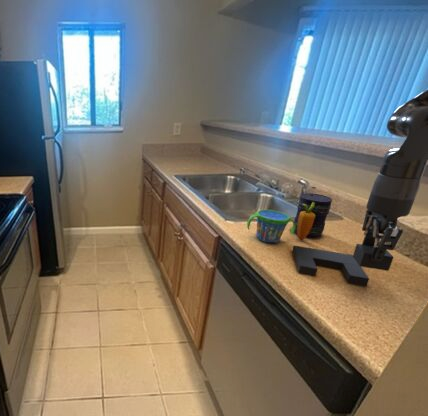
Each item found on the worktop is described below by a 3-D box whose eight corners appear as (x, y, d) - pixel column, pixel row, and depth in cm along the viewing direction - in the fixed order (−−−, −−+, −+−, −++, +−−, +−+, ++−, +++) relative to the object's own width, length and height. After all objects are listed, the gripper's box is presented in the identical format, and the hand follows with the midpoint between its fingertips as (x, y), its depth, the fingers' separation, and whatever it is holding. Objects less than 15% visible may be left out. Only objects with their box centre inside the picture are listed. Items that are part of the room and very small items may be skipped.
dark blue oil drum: (327, 239, 103) (341, 194, 96) (298, 237, 105) (310, 193, 98) (313, 228, 112) (325, 186, 106) (287, 227, 114) (297, 185, 107)
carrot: (294, 242, 101) (304, 204, 96) (290, 236, 106) (300, 200, 100) (310, 244, 100) (321, 205, 95) (305, 238, 104) (316, 201, 99)
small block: (379, 260, 73) (384, 247, 72) (388, 271, 69) (393, 257, 67) (352, 256, 76) (356, 243, 74) (359, 266, 71) (364, 252, 70)
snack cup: (288, 236, 106) (295, 212, 102) (294, 249, 97) (301, 223, 93) (244, 230, 112) (248, 207, 108) (245, 241, 102) (250, 216, 99)
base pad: (350, 261, 89) (352, 255, 88) (366, 286, 77) (369, 278, 76) (292, 251, 95) (293, 245, 94) (298, 272, 84) (300, 265, 83)
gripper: (431, 205, 58) (403, 272, 64) (399, 186, 70) (378, 245, 76) (384, 200, 61) (361, 265, 67) (361, 184, 73) (344, 240, 79)
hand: (370, 254), depth 72 cm, fingers closed on small block, 5 cm apart
